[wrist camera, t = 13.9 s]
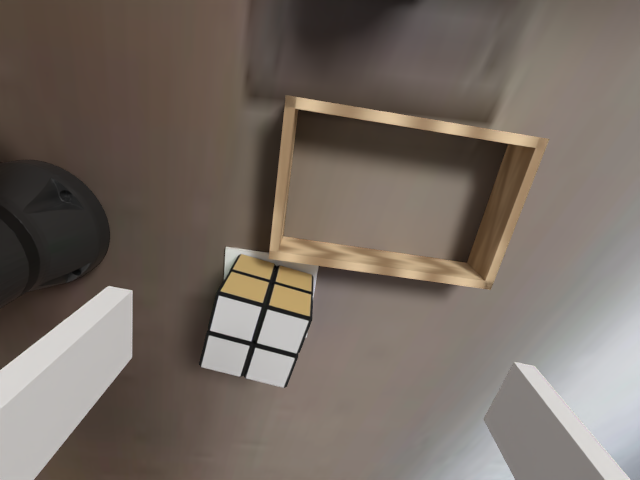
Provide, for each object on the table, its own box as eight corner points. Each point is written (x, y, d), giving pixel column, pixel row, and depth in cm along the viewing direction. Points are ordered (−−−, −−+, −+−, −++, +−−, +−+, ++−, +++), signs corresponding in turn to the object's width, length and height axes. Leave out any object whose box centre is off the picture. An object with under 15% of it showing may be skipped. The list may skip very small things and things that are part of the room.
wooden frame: (274, 242, 41) (268, 258, 36) (290, 98, 35) (285, 95, 30) (471, 270, 42) (490, 289, 38) (519, 136, 36) (549, 139, 32)
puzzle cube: (292, 334, 46) (285, 390, 36) (222, 315, 44) (197, 368, 35) (314, 274, 42) (313, 318, 33) (239, 252, 41) (215, 292, 32)
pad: (222, 324, 45) (221, 326, 45) (226, 246, 41) (225, 248, 41) (306, 335, 46) (306, 337, 46) (319, 259, 42) (319, 261, 41)
